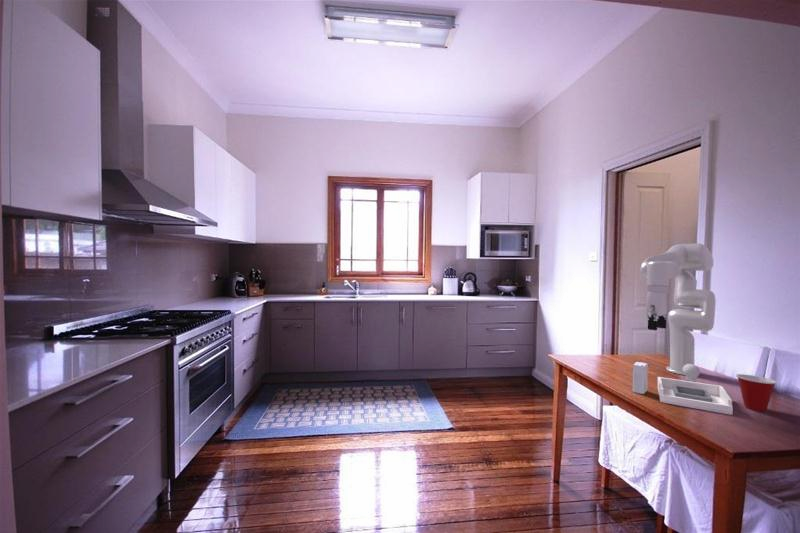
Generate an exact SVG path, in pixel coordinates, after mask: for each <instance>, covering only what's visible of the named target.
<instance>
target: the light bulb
mask: <svg viewBox="0 0 800 533" xmlns="http://www.w3.org/2000/svg"><path fill="white" fill-rule="evenodd" d="M683 373H684V374H685V375H684V376H685V378H686V381H690V382H696V381H697V378H698V377H699V376H700V374H701V371H700V369H699V367H698V366H697V365H695V364H694V365H693V364H687V365H685V366H684V367H683Z"/></svg>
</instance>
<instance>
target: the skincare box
mask: <svg viewBox="0 0 800 533" xmlns="http://www.w3.org/2000/svg"><path fill="white" fill-rule="evenodd" d="M632 366H633V368H632V369H633V370H632V392H633V393H637V394H641V395H645V393H646V392H647V391H648V372H649V371H648V368H649V367H648V363H646V362H640V361H636V362H635V363H634V364H632Z"/></svg>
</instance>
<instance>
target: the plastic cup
mask: <svg viewBox="0 0 800 533" xmlns="http://www.w3.org/2000/svg"><path fill="white" fill-rule="evenodd" d="M735 376H736V377H737V380H738V384H739V388H740V393H741V397H742V400H743V405H744V407H745V408H746V409H748V410H750V411H751V410H752V411H755V412H761V413H763V412H767V410H768V406H769V404H770V401H771V396H772V393H773V390H774V388H775V386H776V384H777V383H778V382H777V381H776V380H775V379H774V380H773V379H771V378H769V377H768V378H766V377H762V376H758V375H752V374H743V373H738V374H737V373H736V374H735Z"/></svg>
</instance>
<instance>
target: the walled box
mask: <svg viewBox="0 0 800 533" xmlns="http://www.w3.org/2000/svg"><path fill="white" fill-rule="evenodd" d="M657 390H658V396H659V401H660V402H659V403H662V402H663V404H668V405H669V404H670V405H673V406H674V405H675V406H680V407H685V408H691V409H698V410H703V411H709V412H712V413H713V412H714V413H719V414H726V415H731V416H733V415H734V414H733V399H731V397H730V395H729V394H728V393H727V391H726V390H725V388H724V387H723V386H722V385H718V384H717V385H716V384H711V383H710V384H709V383H703V382H698V381H697V382H696V381H695V382H690V381H687V380H684V379H683V380H682V379H675V378H671V377H670V378H669V377H662V376H657Z"/></svg>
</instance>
